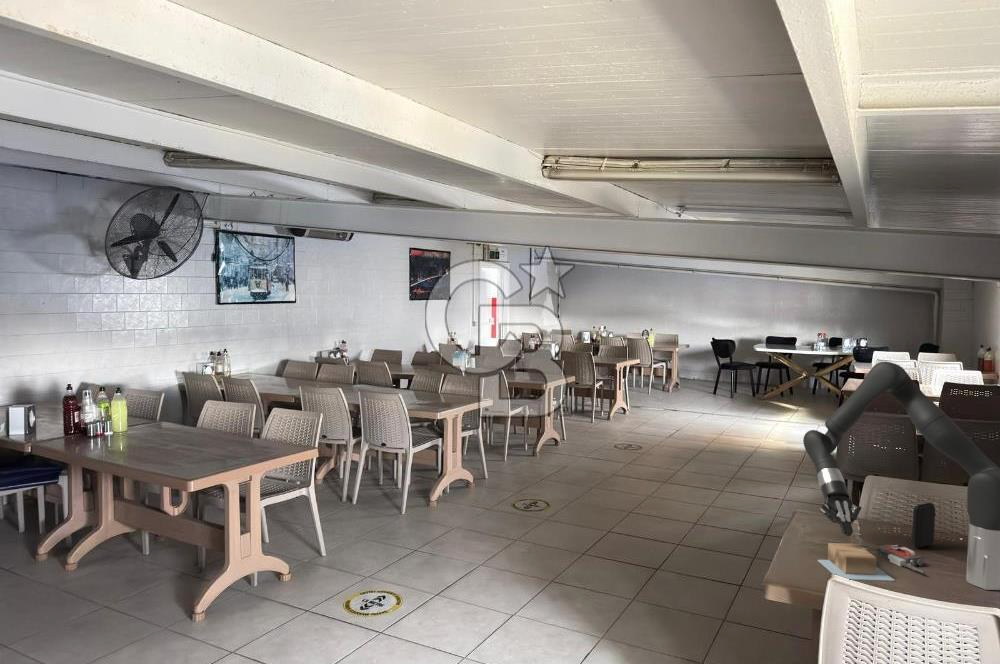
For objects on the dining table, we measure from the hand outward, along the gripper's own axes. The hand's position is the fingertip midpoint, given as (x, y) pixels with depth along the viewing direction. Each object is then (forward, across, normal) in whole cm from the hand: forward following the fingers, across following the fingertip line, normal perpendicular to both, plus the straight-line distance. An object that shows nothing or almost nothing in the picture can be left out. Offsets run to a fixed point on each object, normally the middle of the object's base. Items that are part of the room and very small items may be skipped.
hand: (848, 534), depth 218 cm
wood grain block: (+2, 0, +7) cm, 7 cm away
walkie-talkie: (+5, +19, +9) cm, 22 cm away
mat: (+10, 0, +3) cm, 11 cm away
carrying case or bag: (-6, +34, +20) cm, 40 cm away
